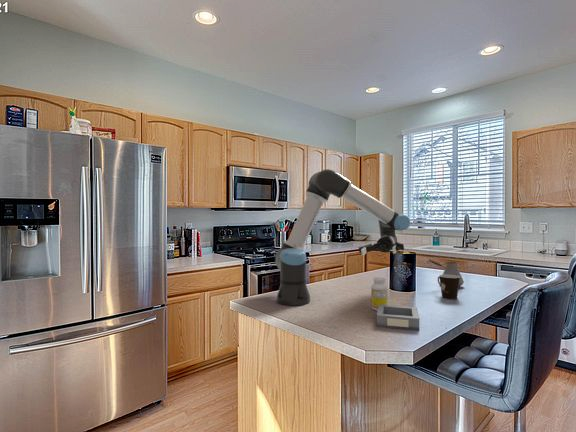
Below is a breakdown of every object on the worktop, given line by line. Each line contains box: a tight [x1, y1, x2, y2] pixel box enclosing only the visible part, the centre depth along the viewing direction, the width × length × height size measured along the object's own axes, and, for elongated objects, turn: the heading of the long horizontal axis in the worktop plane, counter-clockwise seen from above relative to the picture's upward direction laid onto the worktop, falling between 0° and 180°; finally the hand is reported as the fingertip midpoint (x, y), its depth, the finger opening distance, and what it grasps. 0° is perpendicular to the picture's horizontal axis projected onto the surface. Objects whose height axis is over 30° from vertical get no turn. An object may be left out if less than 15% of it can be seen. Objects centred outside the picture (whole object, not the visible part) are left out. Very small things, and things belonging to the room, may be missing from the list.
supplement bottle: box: [370, 276, 389, 312], centre depth 139 cm, size 7×7×13 cm
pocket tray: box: [376, 304, 420, 331], centre depth 123 cm, size 14×14×4 cm
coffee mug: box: [437, 274, 460, 300], centre depth 159 cm, size 12×9×10 cm
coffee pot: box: [427, 259, 465, 288], centre depth 179 cm, size 21×12×15 cm, turn 109°
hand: (377, 251), depth 147 cm, fingers open, 13 cm apart
